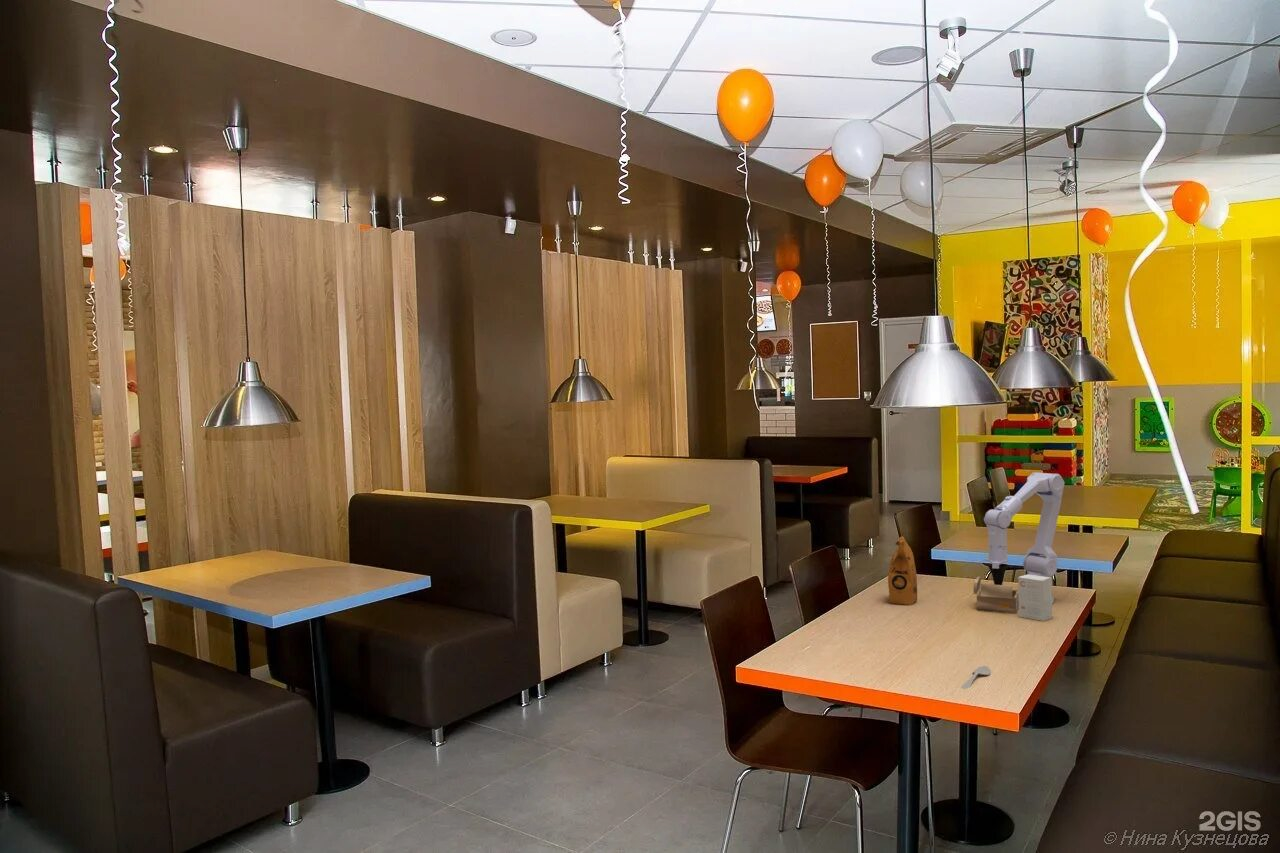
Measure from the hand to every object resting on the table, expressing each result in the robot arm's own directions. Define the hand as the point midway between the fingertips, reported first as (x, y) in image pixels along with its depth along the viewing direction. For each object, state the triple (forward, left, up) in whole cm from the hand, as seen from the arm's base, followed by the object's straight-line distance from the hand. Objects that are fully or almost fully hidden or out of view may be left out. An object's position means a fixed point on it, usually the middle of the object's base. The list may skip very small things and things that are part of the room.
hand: (998, 586), depth 291 cm
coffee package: (+1, -31, -8) cm, 32 cm away
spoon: (+80, +2, -8) cm, 80 cm away
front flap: (+5, 0, 0) cm, 5 cm away
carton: (-1, 0, -7) cm, 7 cm away
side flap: (-1, -6, 0) cm, 6 cm away
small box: (+8, +12, -8) cm, 16 cm away
